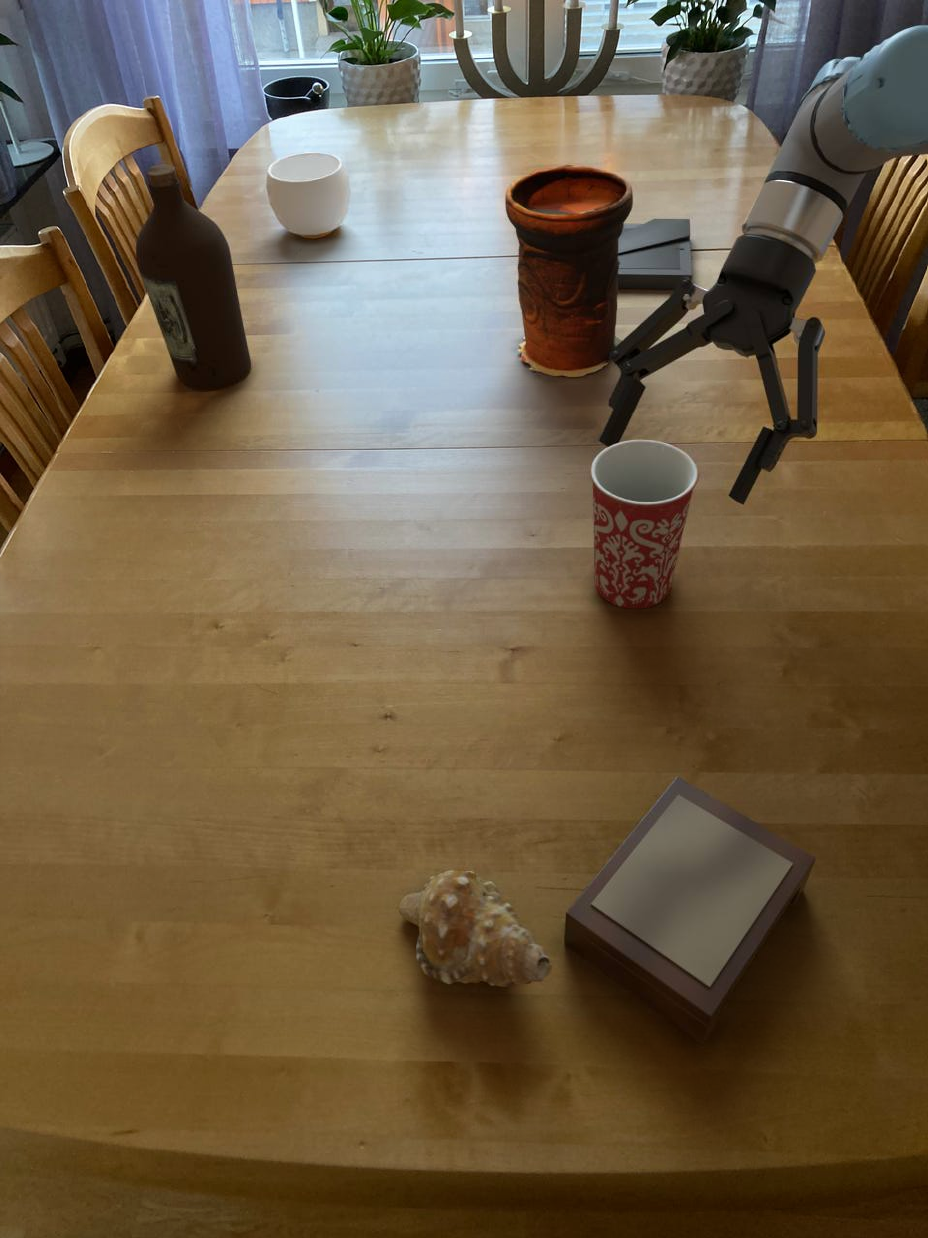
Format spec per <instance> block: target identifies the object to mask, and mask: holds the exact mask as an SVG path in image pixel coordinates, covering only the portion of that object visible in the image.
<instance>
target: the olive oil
mask: <svg viewBox="0 0 928 1238" xmlns="http://www.w3.org/2000/svg"><path fill="white" fill-rule="evenodd" d="M145 176H146V178H147V180H148V184H147V186H148V189H149V192H150V196H151V199H152V202H153V208H152V209H151V212H150V213H149V215H148V217H147V218H146V220H145V222H144V224H143V225H142V227H141V229H140V231H139V232H138V235H137V238H136V242H135V260H136V265H137V269H138V272H139V274H140V277H141V280H142V282H143V286H144V288H145V291H146V293H147V296H148V299H149V303H150V304H151V306H152V310H153V312H154V316H155V318H156V321H157V323H158V326H159V329H160V331H161V332H160V333H161V335H162V338H163V341H164V343H165V346H166V348H167V352H168V354H169V357H170V361H171V363H172V366H173V369H174V372H175V375H176V377H177V381H178V382H179V383H180V384H181V385H182V386H183V387H185V388H187V389H189V390H194V391H197V392H213V391H219V390H223V389H227V388H229V387H232V386H234V385H237V384H238V383H239V382H241V381H243V380H244V379H245V378H246V377H247V376H248V375H249V373H250V372H251V369H252V358H251V355H250V350H249V346H248V340H247V335H246V330H245V325H244V321H243V315H242V309H241V304H240V297H239V293H238V288H237V282H236V276H235V270H234V265H233V258H232V253H231V249H230V246H229V243H228V240H227V239H226V237H225V235H224V233H223V231H222V230H221V228H220V227H219V225H218V224H217V223H216V222H215V221H214V220H213V219H211V218H210V217H209V216H207V215H206V214H204V212H201V211H200V210H198V209H197V208H195V207H194V206H193V205H191V204H190V203H188V202H187V201H186V200H185V199H184V194H183V189H182V186H181V181H180V179H179V178H178V176H177V169H176V167H175V166H174V165H172V164H168V163H167V164H166V163H160V164H155V165H153V166H150V167H148V168H147V169H146V171H145Z"/></svg>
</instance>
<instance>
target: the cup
mask: <svg viewBox="0 0 928 1238" xmlns="http://www.w3.org/2000/svg"><path fill="white" fill-rule="evenodd" d="M265 184H266V185H265V189H266V193H267V198H268V203H269V206H270V207H271V209H272V211H273V214H274V215H275V217H276V219H277V221H278V222H279V224H280V225H281V226H282V227H283V228H285V230H286V231H288V232H290V233H292V234H294V235H298V236H299V237H302V238H304V239H312V240H313V239H320V238H325V237H327V236H328V235H330V234H331V233H333V232H334V230H335V229H338V228H339V227H340V226H341V225H342V224H344V221H345V219H346V218H347V216H348V211H349V207H350V200H351V194H352V193H351V187H350V179H349V174H348V172H347V169H346V167H345V164H344V162H343V161H342V160H341V159H340V157H339V156H336V155H334V154H331V153H326V152H319V151H315V152H314V151H313V152H312V151H311V152H310V151H309V152H301V153H294V154H290V155H286V156H284V157H282V158H279V159H276V160H275V161H274V162H273V163H271V164H270V165H269V167H268V169H267V171H266V183H265Z"/></svg>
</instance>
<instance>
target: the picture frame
mask: <svg viewBox="0 0 928 1238" xmlns="http://www.w3.org/2000/svg"><path fill="white" fill-rule="evenodd" d="M618 262H619V270H618V290H623V289H624V290H671V291H672V290H673V291H674V289H675V288H676V286H677V284H678V283H679V281H680V280H681V279H682V278H684V277H688V278H689V279H690V280H691V281H692V279H693V266H692V250H691V219H690V218H653V219H651V220H648V221H646V222H644V223H625V222H624V227H623V230H622V233H621V236H620V237H619V240H618ZM692 282H693V281H692Z"/></svg>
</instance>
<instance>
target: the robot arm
mask: <svg viewBox="0 0 928 1238" xmlns="http://www.w3.org/2000/svg"><path fill="white" fill-rule="evenodd" d="M798 106H799V107H798V109H797V113H796V115H795V117H794V119H793V121H792V122H791V123H792V124H791V125H790V128H789V130H788V132H787V134H786V136H785V138H784V140H783V142H782V144H781V146H780V148H779V151H778V152H777V155H776V157H775V159H774V162H773V163H772V165H771V167H770V168H769V169H770V170H769V172H768V173H767V176H766V177H765V179H764V182H763V184H762V186H761V188H760V190H759V192H758V194H757V196H756V198H755V200H754V202H753V204H752V205H751V208H750V210H749V212H748V213H747V215H746V217H745V219H744V221H743V223H742V225H741V230H742V233H743V234H741V235H739V236H738V237H737V238H736V239H735V240H734V243H733V245H732V247H731V249H730V251H729V253H728V255H727V257H726V259H725V261H724V263H723V265H722V267H721V269H720V272H719V275H718V278H717V280H716V282H715V284H714V285H712V286H711V288H710V289H705V288H703V287H701V286H699V285H697V284H694V282H693V281H691V280H690V279H689V278H688V277H684V278H682V279H681V280H680V281H679V283H678V284H677V286H676V288H675V289H674V290H673V291H672V293H671V294H670V296H669V297H668V298H667V299H666V300H665V301H664V302H663V303H662V304H661V305H660V306H658V308H656V309H655V310H654V311H653V312H651V314H649V316H647V318H645V319H644V320H643V321H642V322H641V323H640V324H639V325H638V326H637V327H636V328H635V329H634V330H632V331H631V332H630V333H629V334H628V335H627V336H626V337H625V338H624V339H622V341H621V342H620V343H619V344H618V345H617V346H616V347H615V348H614V349H613V350H612V351H611V352H610V354H609V358H610V360H609V361H611V362H612V363H613V364H614V365H615V366H616V367H617V368H618V369H619V371H620V375H619V378H618V380H617V382H616V384H615V386H614V388H613V391H612V392H611V395H610V397H609V399H608V403H607V404H608V407H609V408H611V409H612V411H611V413H610V416H609V417H608V420H607V422H606V424H605V426H604V428H603V430H602V432H601V434H600V436H599V439H598V442H599V443H601V444H602V445H604V446H606V448H608V447H609V446H612V445H614V444H617V443H620V442H621V440H622V438H623V436H624V433H625V432H626V430H627V428H628V425H629V423H630V421H631V419H632V417H633V415H634V413H635V411H636V409H637V406H638V404H639V403H640V400H641V398H642V396H643V394H644V392H645V390H646V386H645V384H643V382H642V380H644V379H645V378H647V377H649V376H650V375H653V374H654V373H656V372H657V371H659V370H661V369H663V368H665V367H666V366H668V365H670V364H672V363H673V362H675V361H677V360H678V359H680V358H682V357H685V356H686V355H688V354H689V353H691V352H693V351H695V350H697V349H698V348H705V347H706V346H708V345H710V344H711V343H713V345H714V346H716V348H717V349H720V350H722V351H723V350H724V351H732V352H733V351H734V352H735V353H736V354H737V355H739V356H740V357H744V358H747V359H749V357H754V356H755V358H756V361H757V364H758V368H759V373H760V376H761V380H762V385H763V387H764V392H765V395H766V400H767V402H768V403H767V404H768V408H769V412H770V417H771V418H772V428H773V429H772V428H770V427H767V426H762V428H761V430H760V432H759V434H758V436H757V437H756V439H755V442H754V444H753V446H752V448H751V449H750V451H749V454H748V455H747V457H746V460H745V462H744V463H743V466H742V467H741V469H740V472H739V474H738V475H737V477H736V479H735V482H734V484H733V486H732V487H731V489H730V491H729V493H728V495H727V496H728V497H729V498H731V499H732V500H733V501H734V502H736V503H739V504H741V505H745V503H746V502H747V499H748V497H749V496H750V493H751V491H752V490H753V487H754V485H755V484H756V481H757V480H758V477H759V475H760V474H761V472H762V471H765V472H768V473H771V472H772V471H773V470H774V469H775V468H776V466H777V464H778V462H779V460H780V458H781V456H782V454H783V452H784V450H785V448H786V446H787V445H788V443H789V441H790V440H792V439H794V438H805V439H807V440H812V439H813V438H815V437H816V436H817V434H818V433H817V432H818V386H819V385H818V382H819V381H818V379H819V378H818V376H819V375H818V373H819V369H818V367H819V365H818V363H819V362H818V361H819V351H820V349H821V346H822V344H823V342H824V338H825V335H826V330H825V328H824V326H823V324H822V321H821V319H819V317H816V316H812V317H810V318H807V319H804V318H798V317H796V313H797V310H798V308H799V307H800V305H801V303H802V301H803V299H804V297H805V295H806V293H807V291H808V289H809V287H810V285H811V283H812V281H813V279H814V277H815V275H816V273H817V269H816V265H815V264H817V263H820V262H822V261H823V258H824V256H825V254H826V252H827V250H828V248H829V247H830V244H831V242H832V241H833V239H834V236H835V234H836V233H837V230H838V229H839V226H840V225H841V222H842V221H843V219H844V216H845V215H846V213H847V210H848V208H849V207H850V205H851V202H852V200H853V198H854V197H855V194H856V193H857V190H858V189H859V187H860V185H861V184H862V181H863V179H864V178H865V176H866V175H867V173H869V172H872V171H874V170H876V169H878V168H879V167H881V166H882V165H884V164H886V163H888V162H890V161H891V160H894V159H896V158H897V159H898V158H902V157H912V156H913V157H914V156H923V155H928V24H926V25H915V26H911V27H909V28H905V29H903V30H901V31H899V32H897V33H895V34H894V35H892V36H891V37H889V38H887V39H884V40H883V41H882V42H881V43H880V44H876V45H874V46H873V47H872V48H871V49H870V51H868V52H866V53H864V55H863V56H861V57H858V56H847V57H845V58H843V59H841V58H835V59H832V60H830V61H828V62H826V63H825V64H824V65H823V66H822V67H821V68H820V69H819V70H818V72H817V74H816V76H815V77H814V80H813V81H812V83H811V86H810V87H809V89H808V91H807V92H805V93H804V94H803V96H802V98H801V100H800V102H799V104H798ZM699 305H702V310H703V314H701V315H700V316H698V317H696V318H694V319H692V320H691V321H689V322H688V323H687V324H686V326H685V327H684V328H682V329H681V330H679V331H677V332H675V333H674V334H672V335H670V336H668V337H666V338H665V339H663V340H662V341H660V342H658V341H659V340H660V339H662V337H663V336H664V335H666V334H667V333H668V332H669V331H670V330H671V329H673V327H675V325H677V324H678V323H679V322H680V321H681V320H682V319H683V318H684V317H685V316H686V315H687V314H688V313H689V311H694V310H696V308H697V307H698V306H699ZM791 333H793V341H794V342H795V344H796V346H798V347H797V394H796V395H797V402H796V404H797V405H796V409H797V411H796V412H797V413H796V418H795V419H792V416H791V413H790V412H791V411H790V408H789V405H788V401H787V397H786V393H785V389H784V385H783V381H782V376H781V372H780V369H779V363H778V357H777V353H776V351H775V347H774V344H776V343H778V342H779V341H781V340H782V339H784V338H785V337H787V336H789V335H790V334H791ZM657 342H658V343H657ZM655 343H656V344H655Z"/></svg>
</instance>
